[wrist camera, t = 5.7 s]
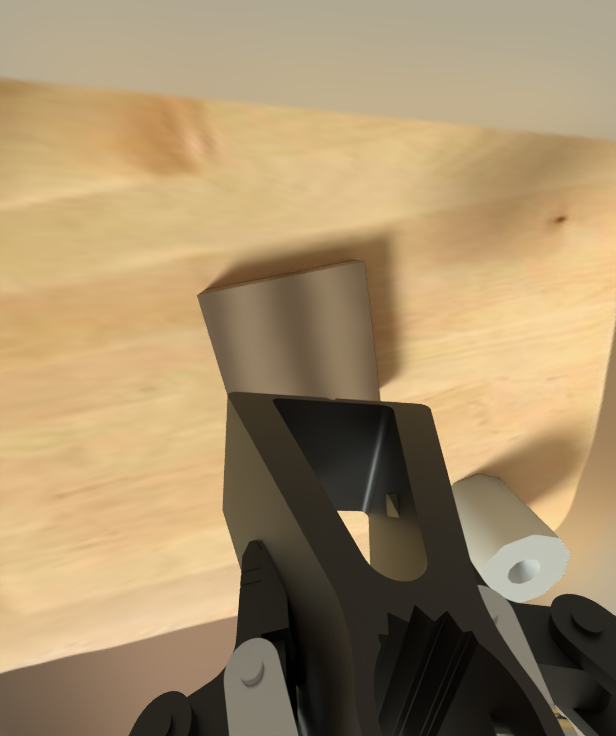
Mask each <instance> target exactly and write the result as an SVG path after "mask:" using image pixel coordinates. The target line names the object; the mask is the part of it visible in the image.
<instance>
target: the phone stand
mask: <svg viewBox="0 0 616 736" xmlns="http://www.w3.org/2000/svg"><path fill="white" fill-rule="evenodd" d="M395 491H396V493H397V498H398V506H399V515H400V518H396V517H389V516H388V514H387V504H386V494H387V493H391V492H395ZM337 511H362V512H364V513H366V514H367V515H368V517H369V541H370V565H369V563H368V562H367V561H366V560H365V558H364V557H363V555H362V553H361V551H360V550H359V548H358V546H357V545H356V543H355V541H354V540H353V538H352V536H351V534H350V533H349V531H348V529H347V528H346V526H345V524H344V522H343V521H342V519H341V517H340V516H339V514H338V512H337ZM223 513H224V516H225V519H226V523H227V526H228V529H229V532H230V536H231V539H232V542H233V545H234V549H235V552H236V555H237V558H238V562H239V565H240V568H242V556H243V554H244V552H245V550H246V547H247V545H248V543H249V541H253V540H257V543H258V545H259V547H260V550H261V552H262V542H263V544H264V546H265V548H266V551H267V553H268V555H269V557H270V559H271V562H272V564H273V566H274V568H275V570H276V573H277V575H278V577H279V579H280V581H281V584H282V586H283V588H284V590H285V592H286V594H287V599H288V605H289V612H290V618H291V624H292V630H293V636H294V642H295V649H296V652H295V658H294V664H293V669H294V675H295V682H296V692H297V706H298V716H299V720H300V724H301V728H302V732H303V735H304V736H491V735H490V729H489V722H488V715H487V712H489V713H492V714H494V715H495V716H497V717H498V718H500V719H501V720H502V721H503V722H504V723H505V724H506V725H507V726H508V728H509V729H510V730H511V732H512V733H513V735H514V736H565V734H564V732H563V730H562V728H561V726H560V724H559V722H558V720H557V718H556V716H555V714H554V712H553V711H552V709H551V707H550V706H549V704H548V702H547V701H546V699H545V698H544V696H543V694H542V693H541V691H540V690H539V689H538V687H537V686H536V684H535V683H534V682H533V680H532V679H531V678H530V676H529V675H528V674H527V672H526V671H525V670H524V668H523V667H522V665H521V664H520V663H519V661H518V660H517V658H516V657H515V655H514V654H513V653H512V651H511V650H510V648H509V647H508V645H507V643H506V642H505V640H504V639H503V637H502V635H501V634H500V632H499V630H498V629H497V627H496V625H495V623H494V621H493V619H492V618H491V616H490V614H489V612H488V610H487V607H486V605H485V603H484V601H483V598H482V596H481V593H480V591H479V588H478V585H477V582H476V578H475V574H474V571H473V567H472V563H471V559H470V556H469V552H468V548H467V544H466V541H465V537H464V533H463V529H462V525H461V522H460V518H459V514H458V510H457V507H456V503H455V499H454V495H453V492H452V488H451V484H450V480H449V477H448V473H447V469H446V465H445V461H444V458H443V454H442V450H441V446H440V443H439V439H438V435H437V431H436V428H435V424H434V420H433V416H432V412H431V409H430V408H429V407H428V406H426V405H423V404H414V403H399V402H384V401H369V400H354V399H339V398H336V399H335V400H331V399H328V398H325V397H310V396H295V395H280V394H265V393H250V392H231V393H229V394H228V399H227V422H226V444H225V466H224V489H223Z"/></svg>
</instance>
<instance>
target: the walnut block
mask: <svg viewBox="0 0 616 736" xmlns="http://www.w3.org/2000/svg"><path fill="white" fill-rule="evenodd" d="M197 297H198V300H199V303H200V307H201V310H202V313H203V317H204V320H205V323H206V326H207V330H208V333H209V336H210V340H211V343H212V346H213V349H214V353H215V356H216V359H217V362H218V366H219V369H220V372H221V376H222V379H223V382H224V385H225V389H226V392H227V395H228V394H229V393H231V392H250V393H265V394H280V395H295V396H310V397H325V398H328V399H331V400H335V399H336V398H339V399H354V400H369V401H380V392H379V383H378V374H377V366H376V357H375V348H374V340H373V331H372V322H371V314H370V305H369V296H368V287H367V279H366V270H365V261H359V260H352V261H347V262H342V263H337V264H332V265H327V266H322V267H317V268H312V269H307V270H302V271H297V272H292V273H287V274H283V275H278V276H273V277H268V278H263V279H258V280H253V281H248V282H243V283H238V284H233V285H228V286H223V287H218V288H213V289H208V290H204V291H202V292H201V293H200V294H198V295H197Z"/></svg>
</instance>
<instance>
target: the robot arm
mask: <svg viewBox="0 0 616 736" xmlns="http://www.w3.org/2000/svg"><path fill="white" fill-rule="evenodd" d="M386 504H387V514H388V516H389V517H396V518H400V515H399V506H398V498H397V493H396V491H395V492H391V493H387V494H386ZM471 563H472V561H471ZM472 567H473V571H474V574H475V578H476V582H477V585H478V588H479V591H480V593H481V596H482V598H483V601H484V603H485V605H486V607H487V610H488V612H489V614H490V616H491V618H492V619H493V621H494V623H495V625H496V627H497V629H498V630H499V632H500V634H501V635H502V637H503V639H504V640H505V642H506V643H507V645H508V647H509V648H510V650H511V651H512V653H513V654H514V655H515V657H516V658H517V660H518V661H519V663H520V664H521V665H522V667H523V668H524V670H525V671H526V672H527V674H528V675H529V676H530V678H531V679H532V680H533V682H534V683H535V684H536V686H537V687H538V689H539V690H540V691H541V693H542V694H543V696H544V698H545V699H546V701H547V702H548V704H549V706H550V707H551V709H552V711H553V712H554V714H555V716H556V718H557V720H558V722H559V724H560V726H561V728H562V730H563V732H564V734H565V736H578V734H577V732H576V731H575V729H574V727H573V726H572V724H571V723H570V722H569V721H568V719H567V718H565V717H563V716H561V714H560V713H559V712H558V710H557V709H556V707H555V705H556V706H557V707H558V708H559V709H560V710H561V711H562V712H563V713H564V714H565V715H566V716H567V717H568V718H569V719H570V720H571V722H572V723H573V724H574V725H575V726H576V727H577V728H578V729H579V730H580V731H581V732H582V733H583V734H584V735H585V736H616V616H615V615H613V614H612V613H610V612H609V611H607V610H606V609H605V608H603V607H602V606H601V605H599V604H597V603H596V602H594V601H592V600H590V599H588V598H585V597H583V596H579V595H574V594H564V595H560V596H558V597H556V598H555V599H554V600H553V602H552V604H551V607H549V606H540V605H530V604H522V603H517V602H514V601H511V600H508V599H506V598H504V597H503V596H502V595H501V594H499V593H498V592H496V591H495V590H493V589H491V588H490V587H489V586H488V585H487V584H486V582H485V581H484V580H483V578H482V577H481V575H480V574H479V572H478V571H477V569H476V568H475V566H474V565H473V563H472ZM241 573H242V575H241V582H240V586H241V588H240V595H239V609H238V623H237V636H236V644H235V648H234V651H233V654H232V655H231V657H230V659H229V661H228V663H227V665H226V667H225V668H224V669H223V670H222V672H221V673H220V674H219V675H218V676H217V677H216V678H214V679H213V680H212V681H211V682H209V683H208V684H206V685H205V686H203V687H202V688H200V689H199V690H197V691H196V692H194V693H192V694H191V695H190V696H188V697H186V696H185V695H184V694H182V693H180V692H178V691H171V692H167V693H164V694H162V695H160V696H159V697H157V698H155V699H154V700H153V701H152V702H151V703H150V704H149V705H148V706H147V707H146V708H145V709H144V710H143V712H142V713H141V715H140V716H139V717H138V719H137V721H136V723H135V724H134V726H133V728H132V730H131V732H130V734H129V736H304V735H303V732H302V728H301V724H300V720H299V716H298V706H297V692H296V682H295V675H294V669H293V664H294V658H295V652H296V649H295V642H294V636H293V630H292V624H291V618H290V612H289V605H288V599H287V594H286V592H285V590H284V588H283V586H282V584H281V581H280V579H279V577H278V575H277V573H276V570H275V568H274V566H273V564H272V562H271V559H270V557H269V555H268V553H267V551H266V548H265V546H264V544H263V542H262V552H261V550H260V547H259V545H258V543H257V540H253V541H249V543H248V545H247V547H246V550H245V552H244V554H243V556H242V568H241ZM487 715H488V722H489V729H490V735H491V736H514V735H513V733H512V732H511V730H510V729H509V728H508V726H507V725H506V724H505V723H504V722H503V721H502V720H501V719H500V718H498V717H497V716H495V715H494V714H492V713H489V712H487Z"/></svg>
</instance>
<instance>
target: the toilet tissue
mask: <svg viewBox="0 0 616 736" xmlns="http://www.w3.org/2000/svg"><path fill="white" fill-rule="evenodd" d="M451 488H452V492H453V495H454V499H455V503H456V507H457V510H458V514H459V518H460V522H461V525H462V529H463V533H464V537H465V541H466V544H467V548H468V552H469V556H470V559H471V561H472V563H473V565H474V566H475V568H476V569H477V571H478V572H479V574H480V575H481V577H482V578H483V580H484V581H485V582H486V584H487V585H488V586H489V587H490V588H491V589H493V590H495V591H496V592H498V593H499V594H501V595H502V596H503V597H504V598H506V599H508V600H511V601H514V602H517V603H522V602H525V601H528V600H530V599H533V598H536V597H538V596H541V595H543V594H544V593H545V592H546V591H547V590H548V589H549V588H551V587H552V586H553V585H554V584H555V583H556V582H557V581H558V580H559V579H560V578H562V577H563V575H564V572H565V569H566V566H567V563H568V560H569V557H570V553H569V552H568V550H567V548H566V547H565V545H564V544H563V542H562V541H561V539H560V538H559V537H558V536H557V535H556V534H555V533H554V532H553V531H552V530H551V529H550V528H549V527H548V526H547V525H546V524H545V523H544V522H543V521H542V520H541V519H540V518H539V517H538V516H537V515H536V514H535V513H534V512H533V511H532V510H531V509H530V508H529V507H528V506H527V505H526V504H525V503H524V502H523V501H522V500H521V499H520V498H519V497H518V496H517V495H516V494H515V493H514V492H513V491H512V490H511V489H510V488H509V487H508V486H507V485H506V484H505V483H504V482H503V481H502V480H501V479H500V478H497V477H492V476H486V475H481V474H477V475H474V476H471V477H469V478H466V479H463V480H461V481H458V482H455V483H454V484H453V485H452V486H451Z"/></svg>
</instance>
